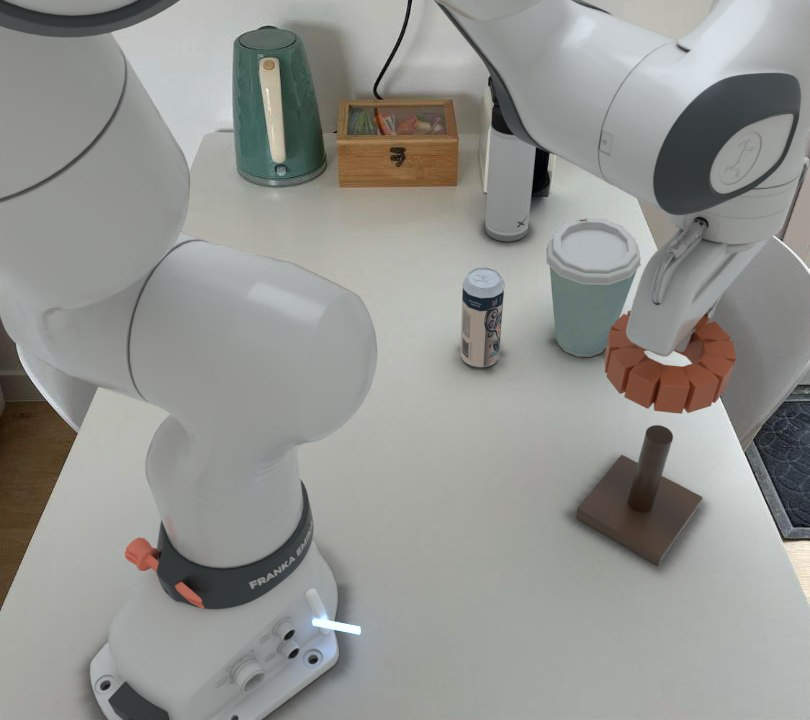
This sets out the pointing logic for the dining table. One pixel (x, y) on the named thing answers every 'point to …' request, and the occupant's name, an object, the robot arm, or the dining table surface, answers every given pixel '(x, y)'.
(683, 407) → the ring
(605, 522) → the stand
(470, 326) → the beer can
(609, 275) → the disposable coffee cup
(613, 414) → the dining table surface
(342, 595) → the dining table surface
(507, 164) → the white water bottle
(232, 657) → the robot arm
